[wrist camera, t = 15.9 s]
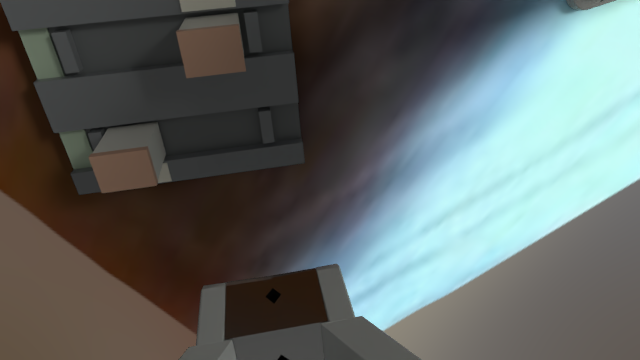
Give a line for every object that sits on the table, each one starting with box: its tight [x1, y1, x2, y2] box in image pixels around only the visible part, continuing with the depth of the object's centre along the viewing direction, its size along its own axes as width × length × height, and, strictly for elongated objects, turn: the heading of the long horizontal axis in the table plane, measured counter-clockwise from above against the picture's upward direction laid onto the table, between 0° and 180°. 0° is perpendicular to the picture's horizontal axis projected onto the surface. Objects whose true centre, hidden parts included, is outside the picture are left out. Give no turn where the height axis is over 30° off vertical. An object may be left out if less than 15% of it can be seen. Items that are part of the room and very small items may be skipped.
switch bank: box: [0, 0, 305, 195], centre depth 37 cm, size 20×16×3 cm
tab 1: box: [88, 122, 166, 193], centre depth 36 cm, size 4×3×6 cm
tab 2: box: [176, 13, 246, 78], centre depth 32 cm, size 4×3×6 cm
